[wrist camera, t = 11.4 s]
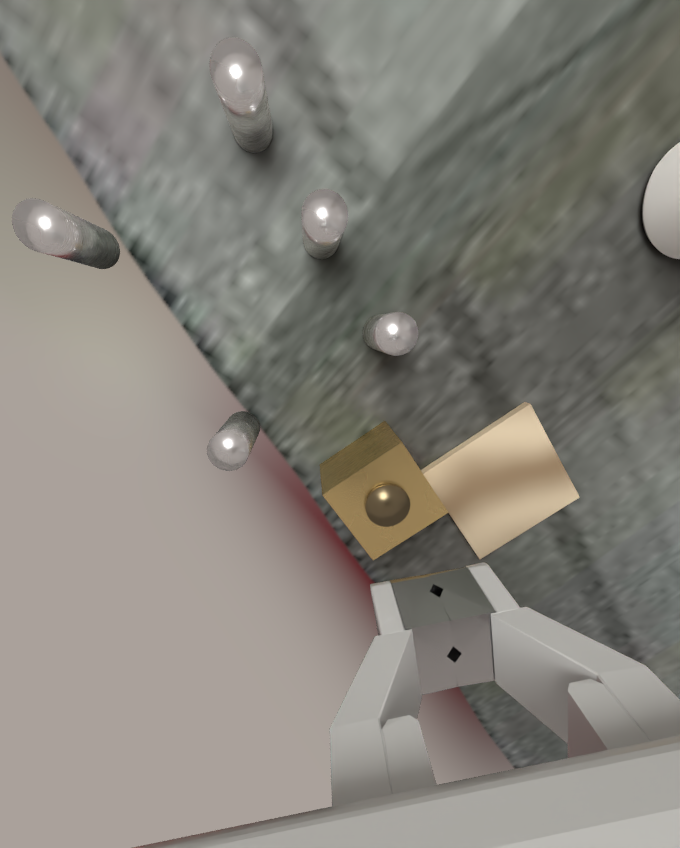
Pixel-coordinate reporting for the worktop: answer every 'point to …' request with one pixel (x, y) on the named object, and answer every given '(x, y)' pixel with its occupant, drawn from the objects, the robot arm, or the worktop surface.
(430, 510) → the cube with brass knob
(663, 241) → the can
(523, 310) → the worktop surface
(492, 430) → the coaster
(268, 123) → the spacer posts
